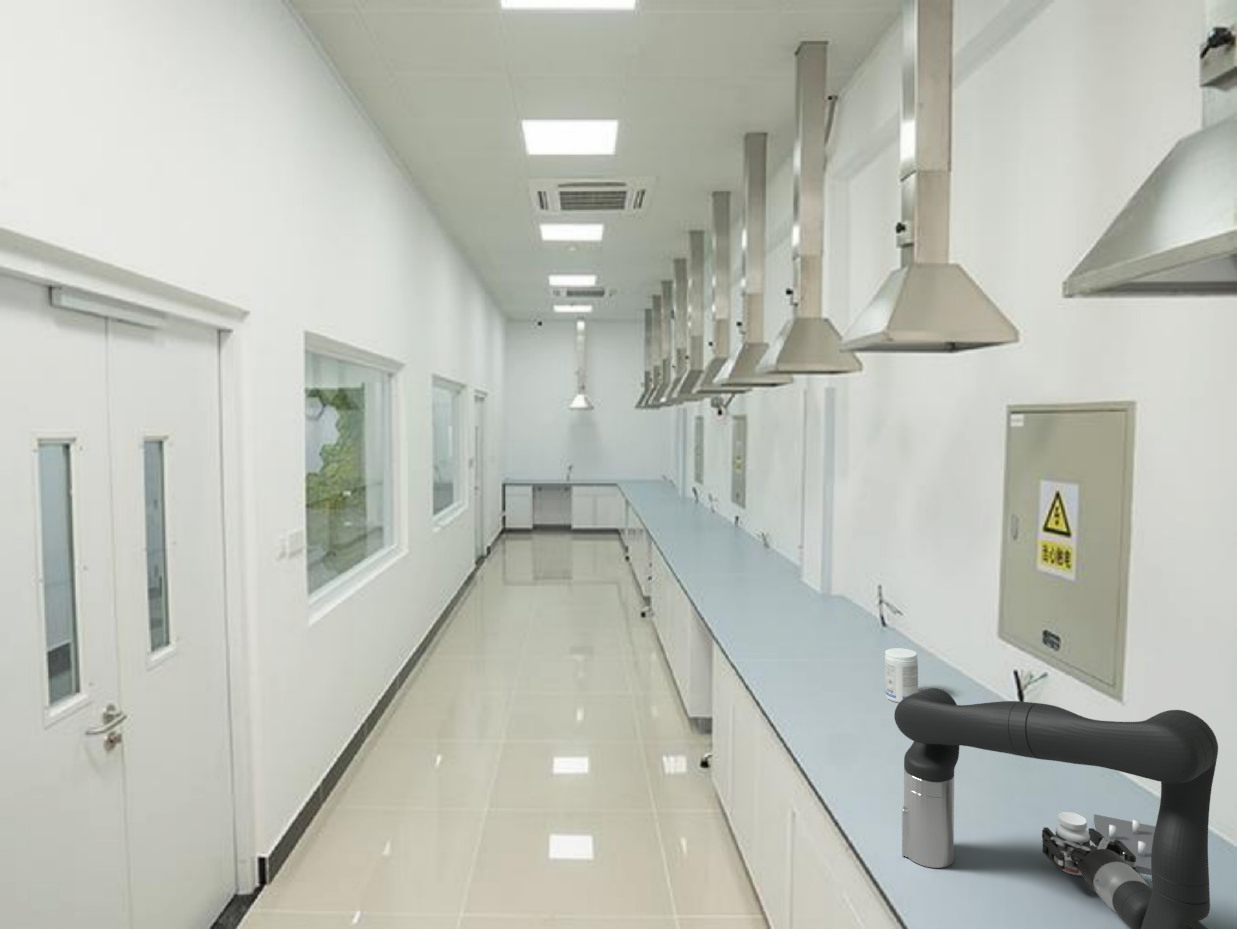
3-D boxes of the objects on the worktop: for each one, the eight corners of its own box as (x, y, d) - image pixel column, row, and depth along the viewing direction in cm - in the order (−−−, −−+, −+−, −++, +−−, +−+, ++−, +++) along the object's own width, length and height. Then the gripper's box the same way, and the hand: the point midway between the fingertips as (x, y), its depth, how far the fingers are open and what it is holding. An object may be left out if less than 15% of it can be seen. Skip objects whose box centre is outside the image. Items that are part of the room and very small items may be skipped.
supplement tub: (918, 695, 234) (918, 649, 233) (917, 706, 225) (917, 658, 224) (885, 691, 238) (885, 646, 237) (883, 701, 229) (883, 655, 228)
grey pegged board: (1101, 863, 145) (1101, 845, 145) (1093, 819, 161) (1094, 802, 160) (1190, 883, 138) (1191, 864, 138) (1173, 835, 154) (1174, 818, 154)
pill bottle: (1077, 858, 147) (1078, 809, 146) (1096, 875, 141) (1097, 825, 140) (1048, 859, 147) (1049, 810, 146) (1067, 877, 141) (1067, 826, 140)
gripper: (1160, 863, 128) (1105, 814, 145) (1075, 861, 129) (1030, 812, 146) (1159, 905, 129) (1104, 851, 145) (1074, 903, 130) (1029, 849, 146)
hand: (1067, 832), depth 145 cm, fingers open, 8 cm apart
